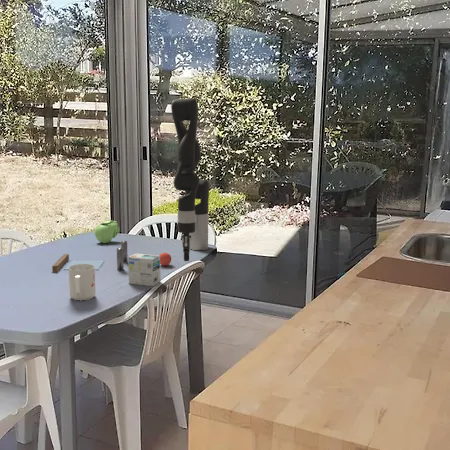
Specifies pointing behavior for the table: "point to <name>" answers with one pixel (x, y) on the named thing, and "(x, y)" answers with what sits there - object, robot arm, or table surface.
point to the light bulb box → (144, 269)
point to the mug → (82, 281)
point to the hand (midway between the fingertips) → (186, 260)
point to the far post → (124, 251)
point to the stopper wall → (60, 263)
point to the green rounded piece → (106, 231)
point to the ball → (165, 259)
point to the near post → (120, 259)
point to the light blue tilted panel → (95, 263)
